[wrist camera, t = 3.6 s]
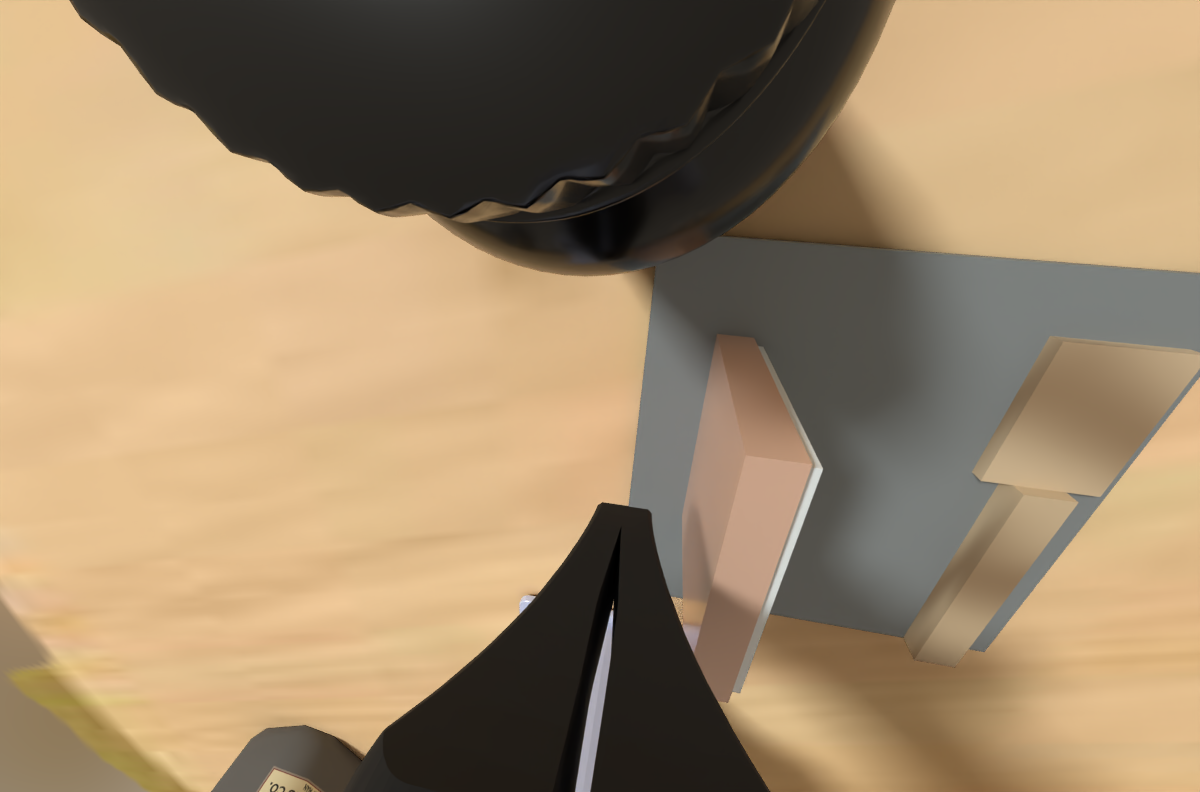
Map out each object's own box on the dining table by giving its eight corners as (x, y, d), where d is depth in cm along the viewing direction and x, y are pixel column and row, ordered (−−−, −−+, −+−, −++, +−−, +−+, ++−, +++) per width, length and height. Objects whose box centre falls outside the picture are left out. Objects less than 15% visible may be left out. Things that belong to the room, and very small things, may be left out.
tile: (718, 521, 18) (739, 705, 12) (681, 515, 18) (683, 693, 12) (763, 338, 14) (829, 466, 8) (716, 334, 14) (745, 455, 8)
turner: (966, 648, 19) (980, 672, 18) (879, 633, 19) (888, 655, 18) (1190, 349, 12) (1229, 363, 11) (1049, 336, 13) (1077, 348, 12)
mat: (978, 643, 19) (984, 651, 19) (620, 580, 21) (619, 587, 21) (1256, 277, 12) (1274, 280, 11) (660, 230, 13) (659, 232, 13)
